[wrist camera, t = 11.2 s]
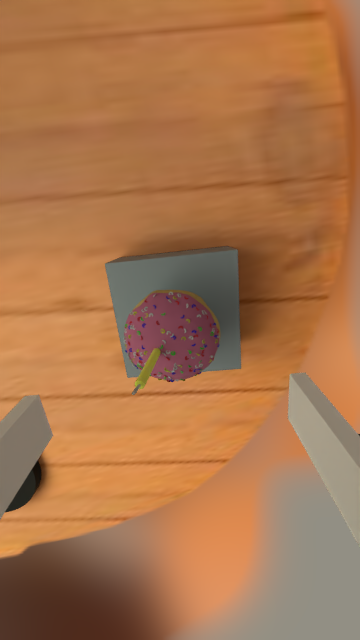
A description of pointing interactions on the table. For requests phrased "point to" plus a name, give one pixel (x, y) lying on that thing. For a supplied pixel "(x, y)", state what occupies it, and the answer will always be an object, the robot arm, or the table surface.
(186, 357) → the cupcake
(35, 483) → the wireless charger
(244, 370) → the table surface
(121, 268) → the plinth
